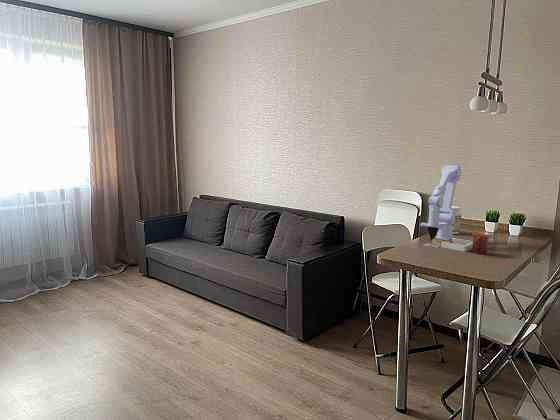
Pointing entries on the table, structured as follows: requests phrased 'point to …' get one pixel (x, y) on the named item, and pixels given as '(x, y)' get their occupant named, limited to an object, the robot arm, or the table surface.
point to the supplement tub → (456, 220)
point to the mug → (480, 242)
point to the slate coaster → (432, 245)
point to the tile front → (447, 241)
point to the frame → (458, 247)
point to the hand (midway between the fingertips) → (432, 240)
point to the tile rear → (437, 241)
